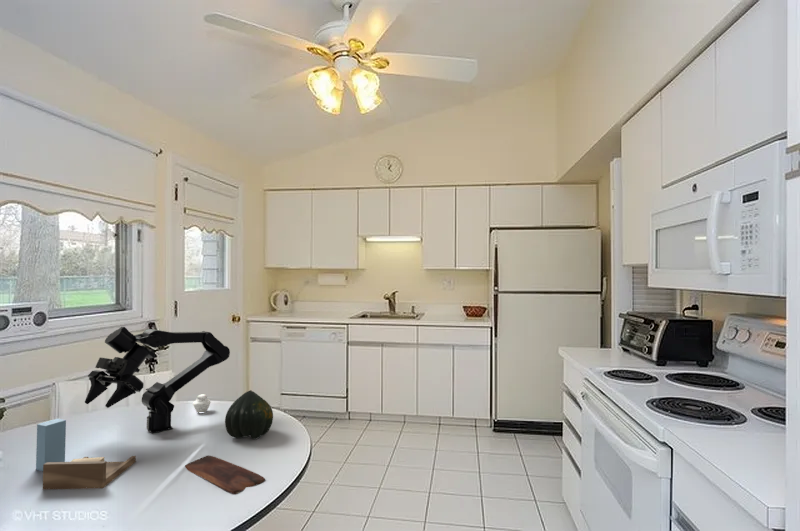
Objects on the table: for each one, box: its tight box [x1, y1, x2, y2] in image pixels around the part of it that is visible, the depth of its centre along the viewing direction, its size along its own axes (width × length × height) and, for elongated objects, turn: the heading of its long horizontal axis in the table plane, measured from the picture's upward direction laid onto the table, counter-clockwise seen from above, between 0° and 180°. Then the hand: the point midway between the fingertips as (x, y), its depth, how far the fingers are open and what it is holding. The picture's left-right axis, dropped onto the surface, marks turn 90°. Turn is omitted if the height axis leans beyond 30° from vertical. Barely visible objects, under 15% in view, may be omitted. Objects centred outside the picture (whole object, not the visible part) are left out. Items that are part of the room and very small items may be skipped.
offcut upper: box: [70, 456, 105, 462], centre depth 108 cm, size 4×7×2 cm, turn 102°
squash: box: [224, 389, 274, 440], centre depth 143 cm, size 14×15×15 cm
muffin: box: [192, 393, 211, 413], centre depth 165 cm, size 6×6×7 cm
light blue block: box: [35, 418, 67, 472], centre depth 116 cm, size 5×4×13 cm
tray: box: [42, 455, 137, 491], centre depth 112 cm, size 15×14×7 cm
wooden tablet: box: [184, 455, 266, 495], centre depth 116 cm, size 26×2×10 cm
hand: (96, 405), depth 129 cm, fingers open, 9 cm apart
